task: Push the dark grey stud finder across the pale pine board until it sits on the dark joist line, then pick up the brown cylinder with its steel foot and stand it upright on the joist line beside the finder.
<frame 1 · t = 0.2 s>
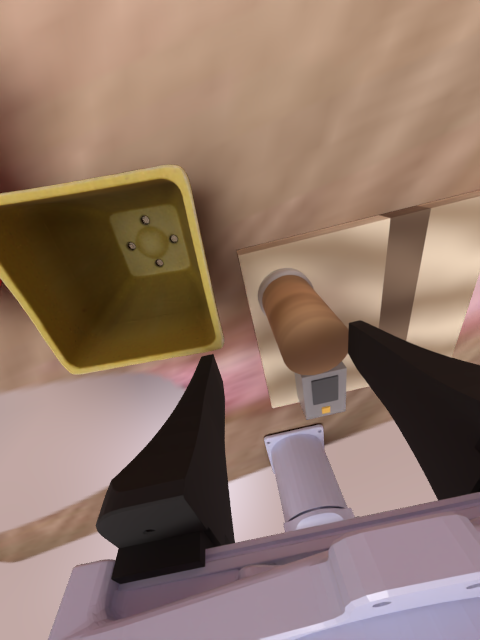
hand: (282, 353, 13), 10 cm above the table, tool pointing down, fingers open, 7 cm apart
flower pot: (155, 242, 19), on the table
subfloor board: (355, 315, 24), on the table
stud finder: (313, 373, 25), point 1 cm above the table, touching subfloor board
brown cylinder: (283, 293, 20), point 1 cm above the table, touching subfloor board
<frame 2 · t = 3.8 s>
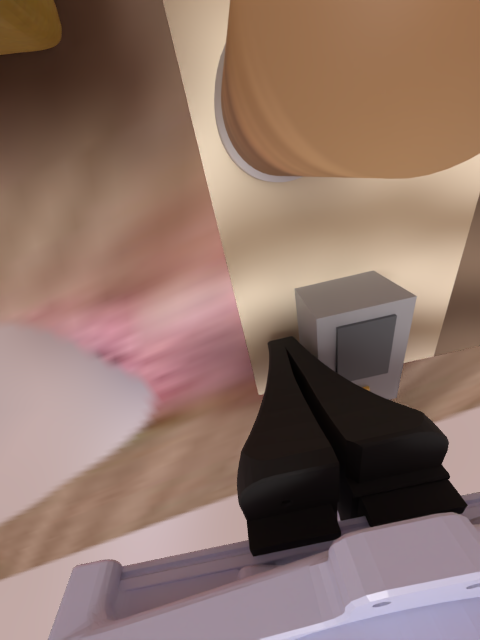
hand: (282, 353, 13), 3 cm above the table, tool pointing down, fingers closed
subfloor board: (418, 209, 12), on the table
stud finder: (333, 328, 14), point 1 cm above the table, touching gripper, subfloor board
brown cylinder: (277, 109, 9), point 1 cm above the table, touching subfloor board
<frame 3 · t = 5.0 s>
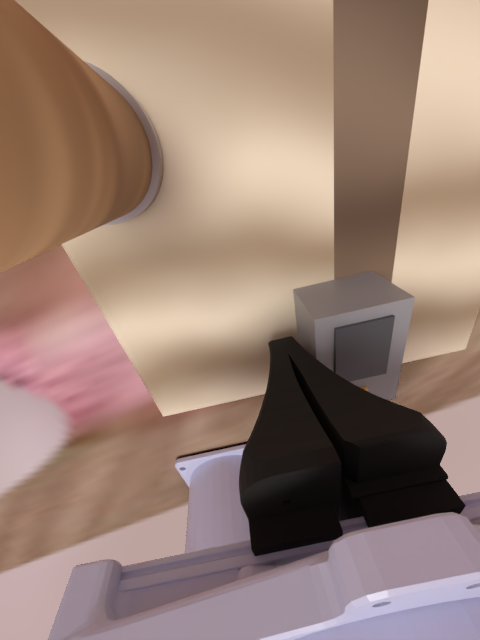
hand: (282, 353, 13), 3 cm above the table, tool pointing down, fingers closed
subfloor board: (292, 239, 12), on the table
stud finder: (332, 328, 14), point 2 cm above the table, touching gripper, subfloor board
brown cylinder: (100, 154, 9), point 1 cm above the table, touching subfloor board
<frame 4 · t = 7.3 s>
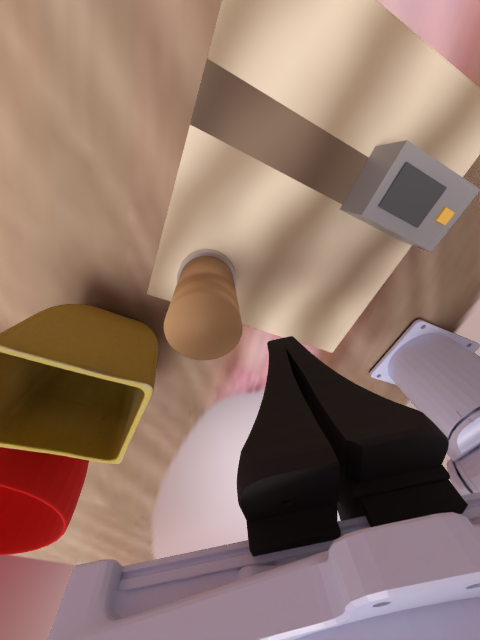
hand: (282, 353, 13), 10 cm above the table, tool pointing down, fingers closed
flower pot: (115, 334, 23), on the table
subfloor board: (300, 211, 18), on the table
stud finder: (389, 198, 17), point 1 cm above the table, touching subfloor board
ceramic cup: (39, 399, 26), on the table
brown cylinder: (207, 277, 19), point 1 cm above the table, touching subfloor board
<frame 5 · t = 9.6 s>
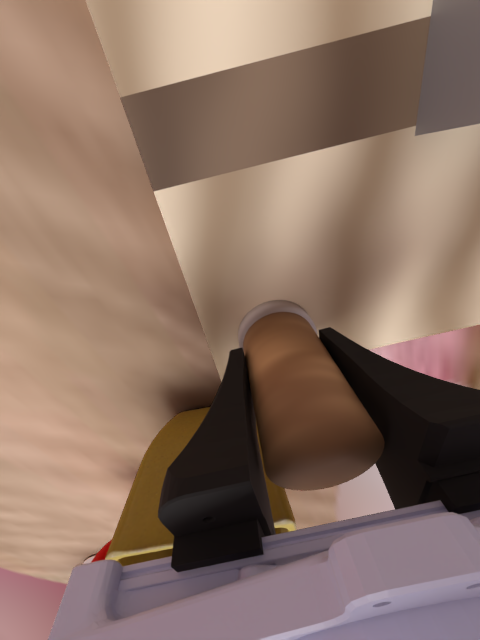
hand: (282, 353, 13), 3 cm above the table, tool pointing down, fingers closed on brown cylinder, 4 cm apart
flower pot: (215, 421, 21), on the table
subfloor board: (348, 179, 12), on the table
brown cylinder: (274, 333, 14), point 1 cm above the table, touching gripper, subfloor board
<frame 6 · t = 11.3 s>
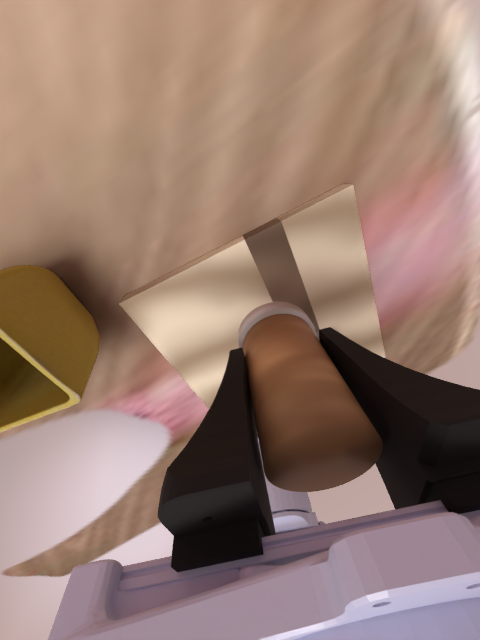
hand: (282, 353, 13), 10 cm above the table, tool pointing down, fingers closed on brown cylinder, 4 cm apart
flower pot: (53, 305, 21), on the table
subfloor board: (266, 325, 24), on the table
brown cylinder: (274, 334, 14), point 9 cm above the table, touching gripper
when the fingers open (4 cm above the table, at t = 13.0 s): brown cylinder stays where it is, resting on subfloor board.
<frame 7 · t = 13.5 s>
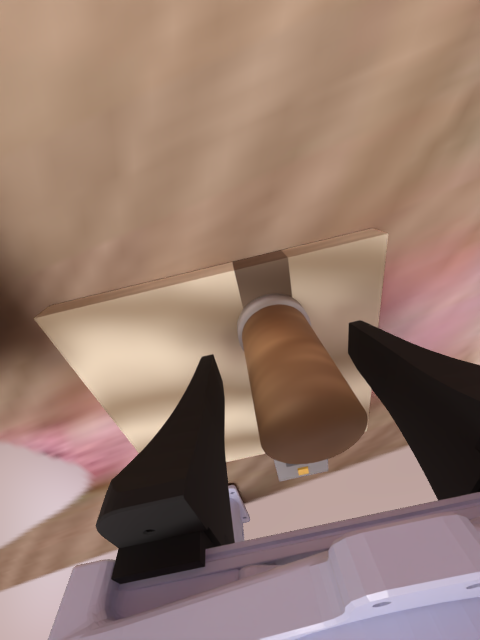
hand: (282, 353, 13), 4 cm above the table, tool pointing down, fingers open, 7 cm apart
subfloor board: (239, 374, 19), on the table
stud finder: (289, 420, 20), point 1 cm above the table, touching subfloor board
brown cylinder: (271, 325, 15), point 1 cm above the table, touching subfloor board
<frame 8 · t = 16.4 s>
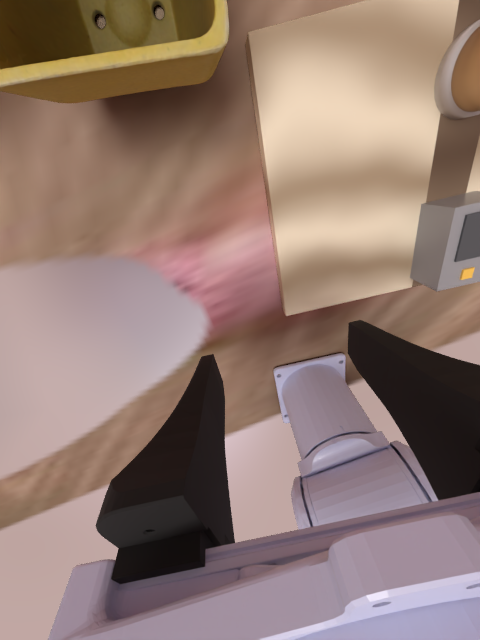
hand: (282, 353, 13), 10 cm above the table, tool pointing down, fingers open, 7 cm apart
flower pot: (133, 25, 14), on the table
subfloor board: (396, 177, 19), on the table
stud finder: (439, 237, 20), point 1 cm above the table, touching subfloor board
brown cylinder: (471, 73, 15), point 1 cm above the table, touching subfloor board
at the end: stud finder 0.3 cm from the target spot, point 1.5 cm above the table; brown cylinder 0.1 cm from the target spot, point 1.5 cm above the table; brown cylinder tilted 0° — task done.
